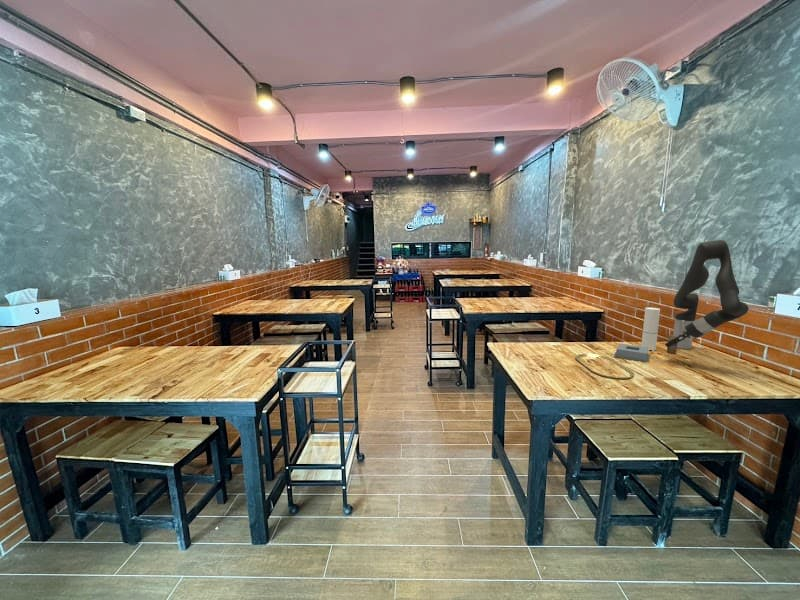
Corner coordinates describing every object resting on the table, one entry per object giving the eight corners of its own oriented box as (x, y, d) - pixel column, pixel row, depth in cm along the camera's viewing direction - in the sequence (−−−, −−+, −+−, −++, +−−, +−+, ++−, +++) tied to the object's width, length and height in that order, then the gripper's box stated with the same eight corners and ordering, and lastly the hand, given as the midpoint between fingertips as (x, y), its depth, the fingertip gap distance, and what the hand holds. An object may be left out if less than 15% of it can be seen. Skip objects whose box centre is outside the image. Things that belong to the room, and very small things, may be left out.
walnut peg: (666, 351, 183) (668, 334, 182) (676, 352, 181) (678, 335, 179) (666, 353, 180) (668, 336, 179) (676, 354, 178) (678, 337, 176)
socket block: (616, 350, 201) (617, 342, 200) (649, 355, 191) (650, 347, 190) (613, 357, 188) (614, 349, 188) (649, 363, 179) (649, 354, 178)
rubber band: (603, 356, 191) (604, 354, 191) (642, 380, 157) (643, 377, 156) (569, 356, 192) (569, 353, 192) (600, 380, 158) (601, 376, 158)
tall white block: (655, 348, 203) (659, 308, 199) (656, 351, 197) (661, 310, 193) (640, 347, 207) (644, 307, 203) (641, 350, 201) (645, 309, 197)
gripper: (697, 319, 176) (666, 336, 187) (690, 323, 167) (657, 341, 179) (709, 330, 173) (677, 348, 184) (702, 336, 164) (669, 353, 176)
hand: (667, 344), depth 181 cm, fingers closed on walnut peg, 4 cm apart
